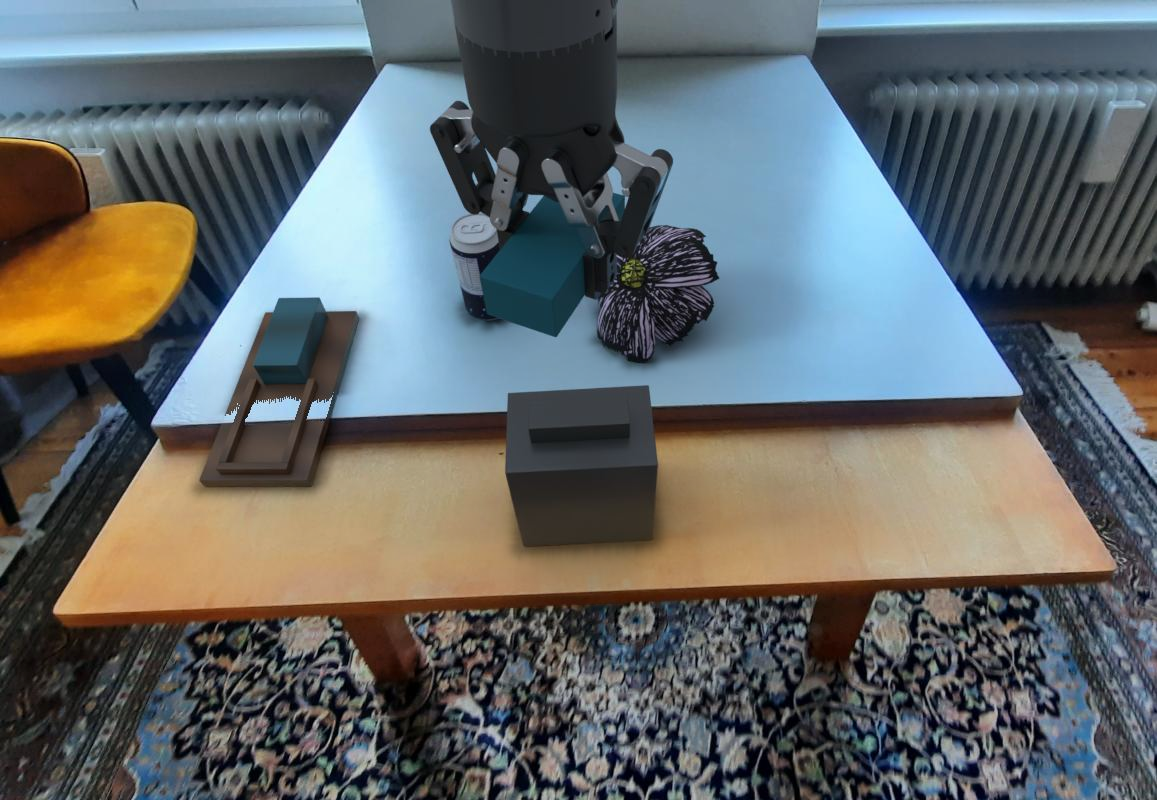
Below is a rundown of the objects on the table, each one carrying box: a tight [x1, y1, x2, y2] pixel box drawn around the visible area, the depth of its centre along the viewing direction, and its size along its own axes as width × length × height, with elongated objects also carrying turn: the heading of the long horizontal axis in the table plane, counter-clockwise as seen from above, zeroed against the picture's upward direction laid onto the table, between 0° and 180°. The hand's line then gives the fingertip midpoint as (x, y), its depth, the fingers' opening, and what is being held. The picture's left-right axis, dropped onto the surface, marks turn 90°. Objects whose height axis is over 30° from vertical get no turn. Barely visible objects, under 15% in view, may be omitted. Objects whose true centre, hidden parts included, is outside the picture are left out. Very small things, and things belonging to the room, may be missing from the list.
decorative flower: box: [596, 224, 720, 364], centre depth 81 cm, size 15×12×15 cm
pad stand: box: [504, 384, 659, 547], centre depth 64 cm, size 12×8×15 cm, turn 92°
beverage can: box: [448, 212, 500, 321], centre depth 82 cm, size 6×6×12 cm
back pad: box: [480, 192, 626, 338], centre depth 45 cm, size 10×5×3 cm, turn 154°
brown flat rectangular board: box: [198, 296, 360, 487], centre depth 78 cm, size 23×11×4 cm, turn 178°
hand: (559, 277), depth 47 cm, fingers closed on back pad, 4 cm apart
